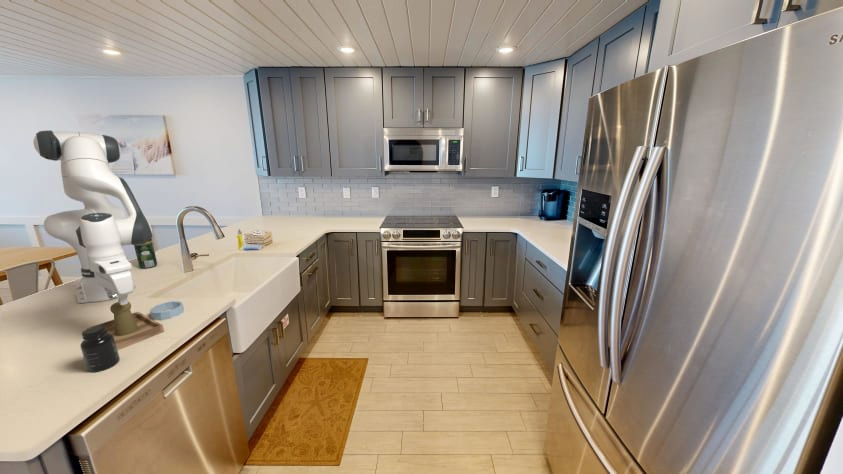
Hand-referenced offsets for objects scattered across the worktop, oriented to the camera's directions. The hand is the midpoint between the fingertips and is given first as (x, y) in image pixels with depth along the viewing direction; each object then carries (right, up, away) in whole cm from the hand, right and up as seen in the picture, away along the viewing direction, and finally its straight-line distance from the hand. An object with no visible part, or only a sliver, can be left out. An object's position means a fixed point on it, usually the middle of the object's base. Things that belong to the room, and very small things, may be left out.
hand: (117, 300), depth 105 cm
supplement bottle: (+9, -17, -13) cm, 23 cm away
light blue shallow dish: (+3, -9, +17) cm, 19 cm away
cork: (0, -12, +3) cm, 12 cm away
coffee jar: (-51, +5, +69) cm, 86 cm away
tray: (0, -12, +3) cm, 13 cm away
